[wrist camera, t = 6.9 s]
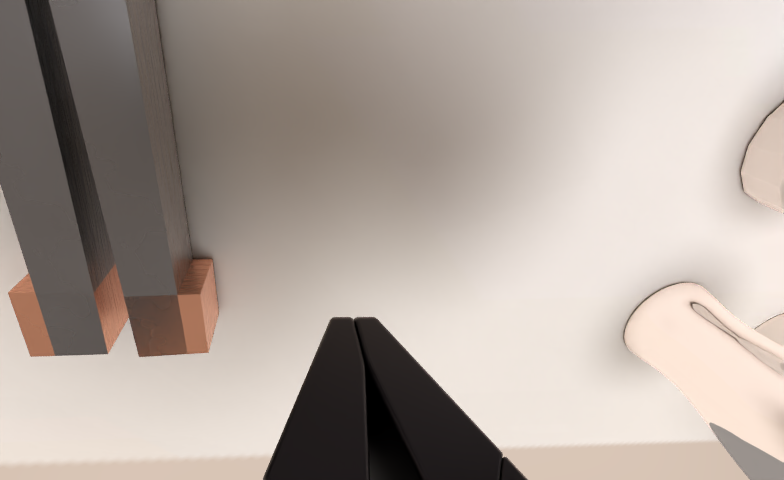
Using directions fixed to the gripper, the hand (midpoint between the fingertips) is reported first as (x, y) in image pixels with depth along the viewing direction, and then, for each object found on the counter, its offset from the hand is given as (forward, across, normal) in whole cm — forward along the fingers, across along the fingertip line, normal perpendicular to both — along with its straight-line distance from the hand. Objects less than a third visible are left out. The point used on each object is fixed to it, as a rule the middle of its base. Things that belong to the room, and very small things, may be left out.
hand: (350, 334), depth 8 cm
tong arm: (+10, +6, -2) cm, 12 cm away
